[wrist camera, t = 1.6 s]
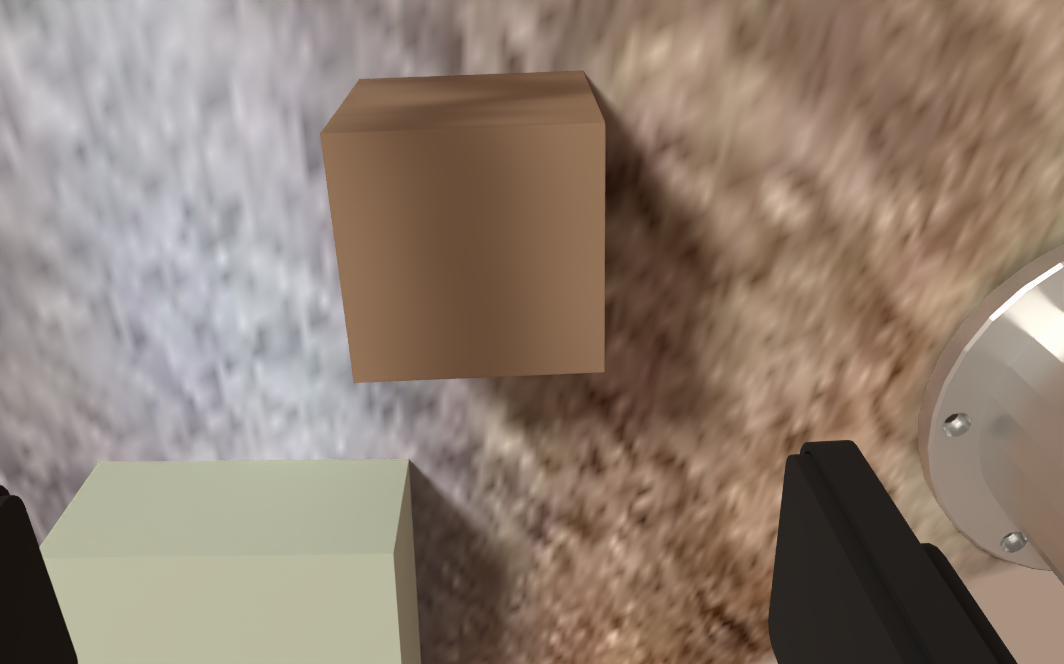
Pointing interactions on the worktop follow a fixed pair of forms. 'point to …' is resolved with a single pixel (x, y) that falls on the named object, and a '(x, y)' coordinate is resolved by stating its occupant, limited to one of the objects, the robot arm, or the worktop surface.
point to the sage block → (239, 563)
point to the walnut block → (470, 225)
